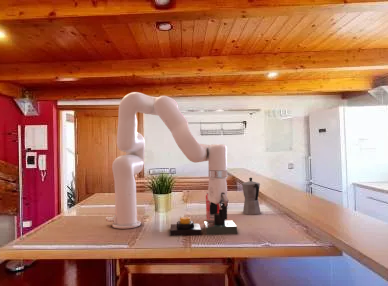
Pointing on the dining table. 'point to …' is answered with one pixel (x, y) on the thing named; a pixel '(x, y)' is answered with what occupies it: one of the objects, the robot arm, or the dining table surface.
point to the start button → (184, 220)
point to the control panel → (220, 228)
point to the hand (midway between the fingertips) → (218, 216)
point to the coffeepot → (251, 197)
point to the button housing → (185, 229)
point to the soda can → (209, 216)
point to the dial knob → (217, 220)
